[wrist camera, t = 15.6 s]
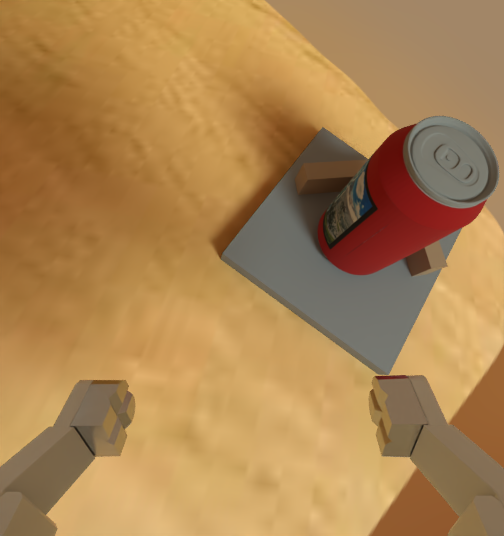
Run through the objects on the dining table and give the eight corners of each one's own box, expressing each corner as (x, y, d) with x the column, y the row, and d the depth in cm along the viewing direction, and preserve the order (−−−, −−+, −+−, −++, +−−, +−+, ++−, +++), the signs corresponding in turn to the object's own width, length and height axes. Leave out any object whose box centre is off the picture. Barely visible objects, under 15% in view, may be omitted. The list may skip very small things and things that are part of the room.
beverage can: (342, 190, 30) (434, 83, 19) (401, 239, 30) (530, 161, 19) (297, 240, 28) (370, 154, 17) (360, 295, 28) (477, 244, 16)
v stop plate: (378, 374, 28) (408, 375, 24) (220, 259, 28) (225, 242, 24) (450, 232, 33) (484, 215, 29) (317, 137, 33) (333, 107, 30)
